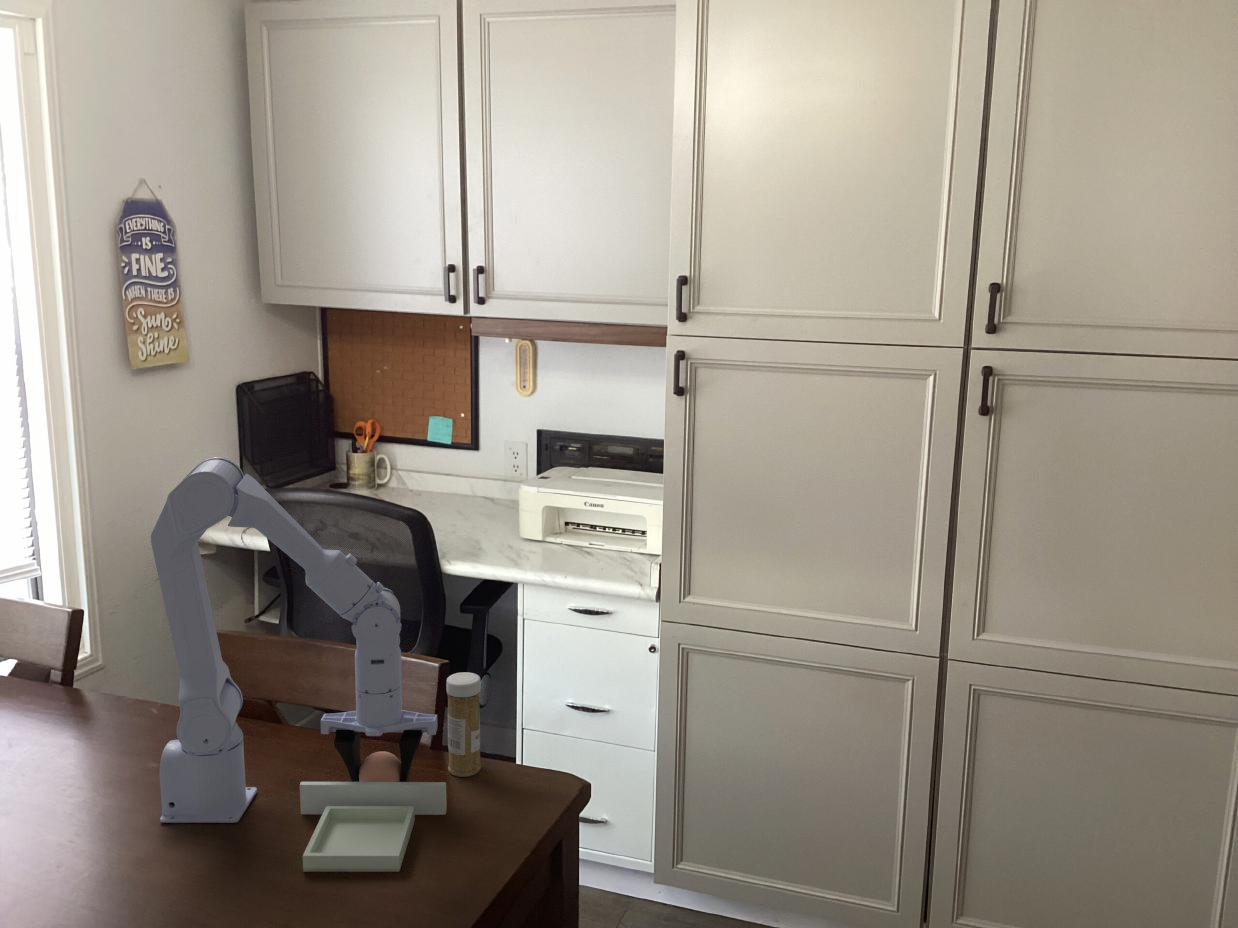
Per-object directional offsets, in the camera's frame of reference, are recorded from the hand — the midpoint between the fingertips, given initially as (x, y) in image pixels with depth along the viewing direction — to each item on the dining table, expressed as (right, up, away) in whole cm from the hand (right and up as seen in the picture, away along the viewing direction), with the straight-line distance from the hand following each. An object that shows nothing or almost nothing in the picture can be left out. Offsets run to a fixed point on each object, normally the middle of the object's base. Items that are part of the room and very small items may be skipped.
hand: (380, 783), depth 133 cm
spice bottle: (+10, -1, +7) cm, 12 cm away
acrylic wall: (0, -2, -4) cm, 5 cm away
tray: (0, -4, -12) cm, 12 cm away
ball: (0, +1, 0) cm, 1 cm away
